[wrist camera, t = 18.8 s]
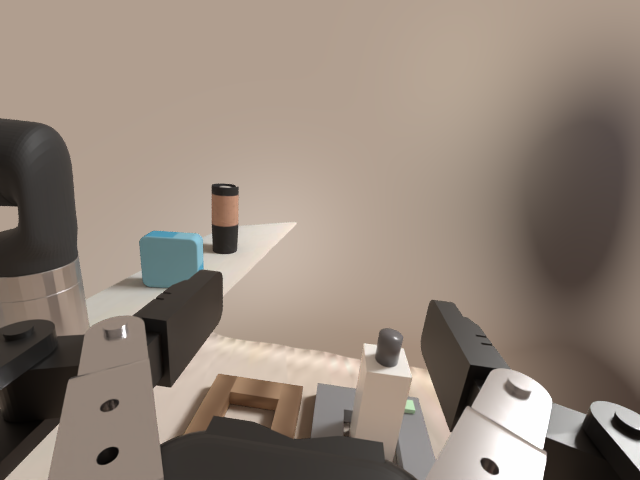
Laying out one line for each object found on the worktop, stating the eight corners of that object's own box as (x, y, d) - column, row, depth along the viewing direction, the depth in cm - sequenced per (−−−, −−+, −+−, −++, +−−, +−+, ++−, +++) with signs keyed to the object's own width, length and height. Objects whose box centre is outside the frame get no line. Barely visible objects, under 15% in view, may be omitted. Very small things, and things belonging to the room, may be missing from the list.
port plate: (302, 505, 30) (304, 487, 29) (316, 394, 43) (318, 379, 42) (446, 530, 29) (452, 512, 28) (415, 409, 42) (418, 394, 41)
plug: (350, 465, 34) (371, 346, 29) (349, 430, 38) (367, 320, 33) (390, 472, 34) (418, 352, 29) (385, 435, 38) (408, 325, 33)
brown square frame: (171, 471, 31) (170, 457, 31) (218, 385, 43) (218, 373, 42) (284, 490, 31) (285, 477, 30) (301, 397, 42) (302, 386, 41)
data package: (204, 280, 73) (203, 233, 69) (198, 289, 68) (197, 239, 65) (151, 278, 71) (147, 230, 68) (142, 287, 67) (138, 236, 63)
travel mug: (207, 252, 90) (206, 185, 84) (218, 244, 97) (218, 182, 91) (232, 255, 89) (232, 188, 83) (241, 247, 97) (242, 185, 91)
